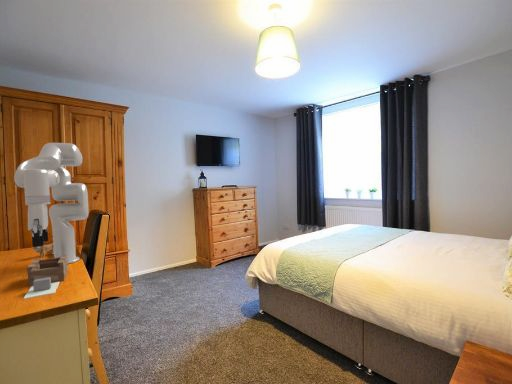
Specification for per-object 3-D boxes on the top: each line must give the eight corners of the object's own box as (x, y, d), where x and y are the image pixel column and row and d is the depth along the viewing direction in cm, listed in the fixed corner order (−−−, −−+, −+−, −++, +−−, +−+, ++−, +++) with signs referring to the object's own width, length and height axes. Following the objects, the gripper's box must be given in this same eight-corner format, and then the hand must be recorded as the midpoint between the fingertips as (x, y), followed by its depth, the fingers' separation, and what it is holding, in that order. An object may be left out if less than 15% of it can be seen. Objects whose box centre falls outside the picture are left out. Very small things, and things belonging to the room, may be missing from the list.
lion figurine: (36, 259, 151) (35, 243, 151) (31, 258, 153) (30, 242, 153) (64, 252, 164) (63, 238, 164) (59, 251, 167) (58, 237, 166)
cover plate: (31, 288, 108) (30, 276, 108) (59, 284, 112) (59, 272, 112) (23, 300, 97) (22, 287, 96) (54, 294, 101) (54, 282, 101)
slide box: (35, 276, 121) (34, 259, 121) (67, 271, 127) (66, 255, 127) (28, 286, 109) (27, 267, 108) (64, 280, 115) (63, 262, 114)
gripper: (30, 200, 109) (33, 241, 110) (19, 202, 94) (22, 250, 95) (53, 199, 113) (56, 238, 114) (45, 201, 98) (48, 247, 99)
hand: (40, 243), depth 104 cm, fingers open, 9 cm apart
